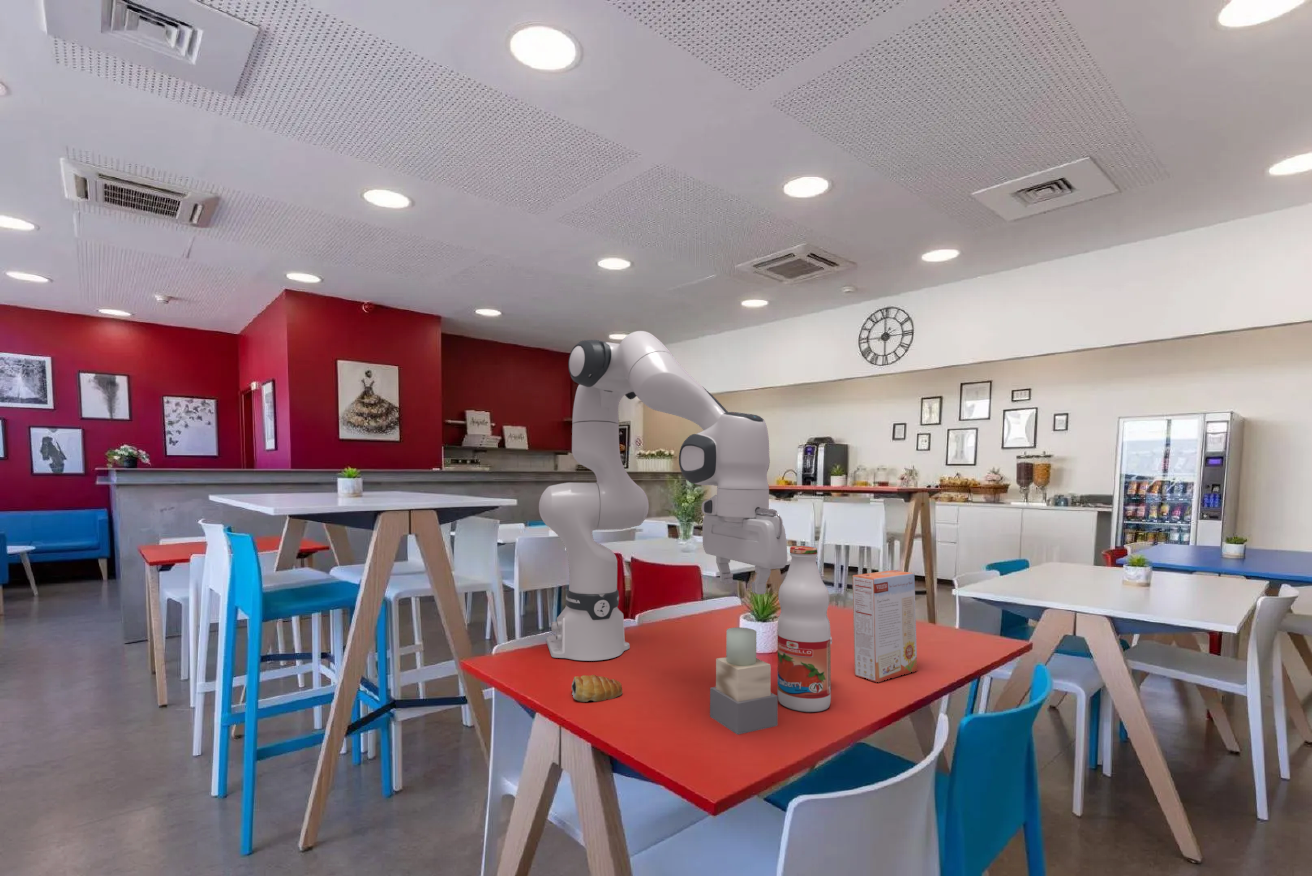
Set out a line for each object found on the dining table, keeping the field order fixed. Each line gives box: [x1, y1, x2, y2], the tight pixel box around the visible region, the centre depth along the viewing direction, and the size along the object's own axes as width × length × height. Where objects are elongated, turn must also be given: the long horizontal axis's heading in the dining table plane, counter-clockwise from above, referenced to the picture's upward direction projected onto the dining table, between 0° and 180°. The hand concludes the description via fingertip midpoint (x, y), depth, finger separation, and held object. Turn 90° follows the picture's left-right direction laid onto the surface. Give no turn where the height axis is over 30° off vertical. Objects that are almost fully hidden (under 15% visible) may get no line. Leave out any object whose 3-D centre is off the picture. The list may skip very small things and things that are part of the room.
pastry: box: [570, 674, 623, 703], centre depth 111 cm, size 9×7×4 cm
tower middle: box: [715, 656, 772, 702], centre depth 100 cm, size 6×6×5 cm
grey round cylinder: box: [725, 626, 757, 666], centre depth 101 cm, size 5×5×5 cm
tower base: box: [709, 686, 779, 735], centre depth 100 cm, size 8×8×5 cm
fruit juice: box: [776, 545, 832, 713], centre depth 109 cm, size 9×9×28 cm
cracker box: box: [852, 569, 918, 683], centre depth 126 cm, size 14×6×21 cm, turn 123°
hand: (741, 588), depth 101 cm, fingers open, 8 cm apart
